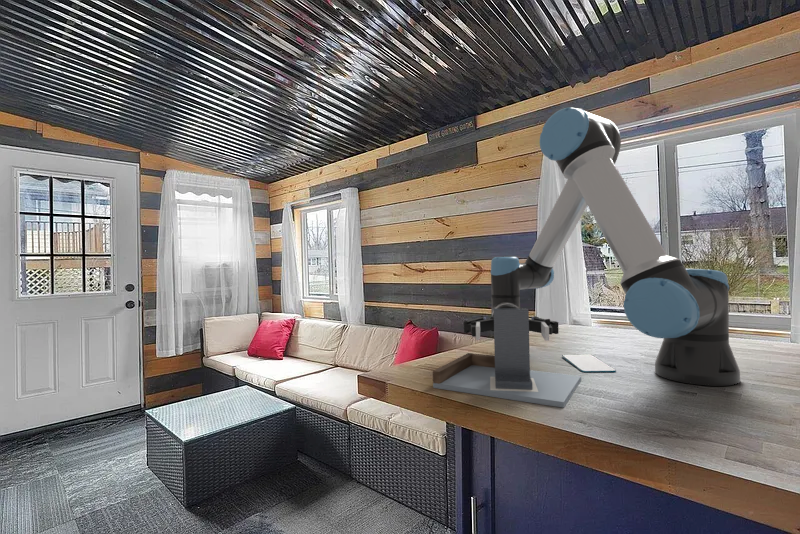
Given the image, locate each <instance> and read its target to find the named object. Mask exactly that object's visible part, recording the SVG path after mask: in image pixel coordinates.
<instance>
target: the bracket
mask: <svg viewBox="0 0 800 534" xmlns="http://www.w3.org/2000/svg"><path fill="white" fill-rule="evenodd" d="M529 310H530V309H529V308H528V307H527V308H525V307H524V308H522V307H520V308H494V331H493V339H494V341H493V342H494V344H493V345H494V347H493V349H494V356H495V387H496V389H522V390H532V380H531V377H530V370H531V369H530V368H531V367H530V366H531V363H530V362H531V361H530V359H531V358H530V357H531V356H530V331H529V319H530V315H529Z"/></svg>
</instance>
